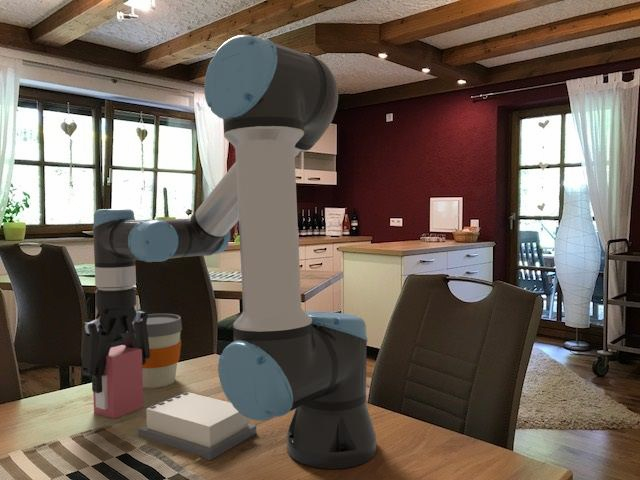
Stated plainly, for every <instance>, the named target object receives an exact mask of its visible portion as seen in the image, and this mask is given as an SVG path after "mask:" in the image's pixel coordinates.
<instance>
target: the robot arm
mask: <svg viewBox="0 0 640 480" xmlns="http://www.w3.org/2000/svg"><path fill="white" fill-rule="evenodd" d="M203 87H204V90H203V91H204V98H205V102H206V104H207V106H208V108H210V111H211V112H212V114H214V115H215V116H217V117H218V118H219V119H222V122H223V124H222V125H223V137H224V139H226V140H227V142H229V143H230V144H231V145H232V146H233V148H234V150H235V153H234V154H235V162H234V163H233V164H232V166H231V167H230V168H229V169H228V171H227V172H226V173H225V174H224V175H223V177H222V178H221V179H220V180H219V181H218V183H217V184H216V186H215V187H214V188H213V189H212V190H211V192H210V193H209V194H208V195H207V197H206V198H205V199H204V200H203V202H202V203H201V204H200V206H198V208H197V209H196V211H194V212H193V214H192V215H191V216H190V217H189V218H176V219H174V218H172V219H171V218H168V219H164V218H163V219H136V218H135V212H134V210H132V209H131V208H124V209H123V208H119V209H118V208H116V209H115V208H108V209H107V208H105V209H104V208H102V209H97V210H95V211H94V214H93V226H92V232H93V234H92V235H93V253H94V254H93V256H94V259H93V260H94V284H95V285H94V286H95V287H96V288H97V289H95V292H94V294H95V297H94V298H95V307H96V310H97V314H96V316H95V319H94V320H91V321H89V322H86V321H84V322H82V330H83V335H84V336H83V348H82V361H81V374H83V375H87V376H90V377H91V390H92V392H95V397H96V407H97V408H101V409H104V410H105V409H108V388H107V375H104V370H105V366H106V356H108V355H109V352H110V348H112V344H113V342H115V339H116V336H118V335H120V336H121V338H122V340H123V342H124V345H125V346H126V347H130V348H140V349H142V365H144V364H145V363H146V360H145V359H149V358H150V349H149V340H148V332H147V324H146V323H147V317H148V312H146V311H141V310H140V311H136V309H135V306H136V305H137V289H136V288H135V287H134V286H135V285H136V284H137V275H136V274H137V273H136V271H137V269H136V261H142V262H145V263H153V262H155V263H157V262H165V261H167V260H168V259H178V258H188V257H199V256H201V257H202V256H205V257H206V256H212V255H214V254H215V255H216V254H221V253H223V252H224V251H225V250H227V248H228V246H229V242H230V240H231V230H232V228H233V227H234V226H235V225H236V224H237V223H238V230H239V231H238V232H239V233H238V234H239V250H240V251H239V253H240V255H239V256H240V274H241V295H242V313H241V314H240V316H238V318H237V319H236V320H235V321H234V322H233V326H232V329H233V341H232V342H231V343H230V344H228V345H227V346H225V348H224V349H223V351H222V353H221V354H220V355H219V358H218V363H217V365H218V366H217V370H218V371H217V372H218V378H219V383H220V386H221V388H222V391H223V393H224V395H225V397H226V398H227V400H228V402H230V403H232V405H233V407H234V408H235V409H236V410H237V411H238V412H239V413H241V414H242V415H244V416H245V417H247V418H248V420H249V419H250V420H253V421H258V422H259V421H260V422H261V421H263V422H264V421H268V420H271V419H274V418H276V417H283V416H285V415H287V414H288V413H290V412H291V411H293V410H294V412H293V414H292V415H293V416H292V419H291V421H290V424H289V427H288V431H287V434H286V451H287V454H288V455H289V456H290V458H292V459H293V460H295V461H297V462H299V463H300V464H303V465H306V466H309V467H313V468H319V469H329V470H331V469H332V470H333V469H347V468H351V467H356V466H359V465H362V464H364V463H367V462H368V461H369V460H371V459H372V458H373V457H374V456H375V455H376V452H377V435H376V434H377V433H376V431H375V428H374V425H373V422H372V418H371V415H370V411H369V408H368V406H367V353H368V352H367V347H368V344H367V343H368V337H367V326H366V325H367V324H366V322H365V321H364V319H363V318H361V316H360V317H359V316H357V315H354V314H349V313H344V312H343V313H342V312H335V311H334V312H332V311H319V310H317V311H316V310H315V311H314V310H306V311H304V309H303V308H302V290H301V269H300V268H301V267H300V250H299V249H300V248H299V247H300V246H299V227H298V226H299V225H298V223H299V222H298V203H297V201H298V200H297V181H296V180H297V179H296V177H297V176H296V157H297V156H299V153H300V152H308V151H310V150H311V149H312V148H313V147H314V146H315V145H316V144H317V142H318V141H320V139H321V138H322V137H323V135H325V132H326V131H327V130H328V129H329V127H330V125H331V123H332V121H333V120H334V117H335V114H336V111H337V110H338V109H337V108H338V102H339V90H338V84H337V81H336V77H335V75H334V73H333V72H332V70H331V69H330V68H329V67H328V65H327V64H326V63H325V62H324V61H323V60H321V59H320V58H318V57H317V56H314V55H312V54H310V53H305V52H302V51H298V50H296V49H293V48H290V47H287V46H285V45H281V44H279V43H276V42H273V41H271V40H270V39H269V38H266V37H257V36H253V35H251V34H250V35H248V34H240V35H236V36H233V37H231V38H230V39H228V40H226V41H225V42H223V43H222V45H220V46H219V47H218V49H217V50H216V51H215V54H214V56H213V57H212V58H211V60H210V62H209V64H208V66H207V69H206V73H205V76H204V86H203ZM133 321H134V328H135V330H134V328H133V325H132V323H133ZM134 334H135V335H134ZM135 336H136V338H135Z"/></svg>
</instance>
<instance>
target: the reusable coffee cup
mask: <svg viewBox="0 0 640 480" xmlns="http://www.w3.org/2000/svg"><path fill="white" fill-rule="evenodd" d="M181 318H182V317H181V316H180V315H179V314H175V313H152V314H151V313H149V314H148V317H147V323H146V324H147V332H148V340H149V349H150V358H149V359H145V360H146V363H145V364H144V365H142V377H143V389H156V388H157V389H158V388H163V387H166V386H170V385H172V384H173V383H174V382H176V376H177V366H178V362H179V361H180V357H181V349H182V347H181V346H182V340H181V332H182V331H183V325H182V319H181ZM132 325H133V328H134V321H133V323H132ZM134 330H135V328H134ZM134 335H135V334H134ZM135 338H136V336H135Z"/></svg>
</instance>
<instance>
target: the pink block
mask: <svg viewBox="0 0 640 480" xmlns="http://www.w3.org/2000/svg"><path fill="white" fill-rule="evenodd" d="M104 375H107V388H108V409H105V410H104V409H101V408H97V407H96V397H95V392H93V391H92V392H93V413H94V414H96V415H100V416H103V417H106V418H110V419H113V420H115V419H118V418H119V417H122V416H125V415H127V414H130V413H132V412H134V411H137V410H140V409H142V408H144V393H143V392H144V391H143V390H144V388H143V377H142V349H140V348H130V347H126V346H125V344H121V345H116V346H111V348H110V352H109V355H108V356H106V366H105V370H104Z"/></svg>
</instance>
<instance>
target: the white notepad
mask: <svg viewBox="0 0 640 480" xmlns="http://www.w3.org/2000/svg"><path fill="white" fill-rule="evenodd" d="M256 434H257V425H256V424H253V423H249V418H247V417H245V416H244V415H242V414H241V413H239V412H238V411H237V410H236V409H235V408H234V407H233V405H232V403H231V402H230V401H225V400H221V399H216V398H213V397H209V396H205V395H201V394H197V393H192V392H189V391H187V392H186V391H185V392H182V394H180V395H179V394H177V395H175V396H174V397H172V398H167V399H166V400H165V401H160V402H158V403H156V404H155V405H150V406H149V407H148V408H146V424H145V425H144V426H142V427H139V428H138V436H139V437H142V438H145V439H148V440H151V441H154V442H158V443H161V444H164V445H167V446H170V447H173V448H175V449H176V448H177V449H178V450H182V451H185V452H188V453H190V454H194V455H197V456H199V458H202V459H205V460H208V461H212V460H213V459H215V458H217V457H219V456H220V455H222V454H224V453H225V452H227V451H230V449H232V448H234V447H236V446H237V445H239V444H241V443H243V442H245V441H246V440H248V439H249V438H251V437H253V436H255V435H256Z"/></svg>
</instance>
